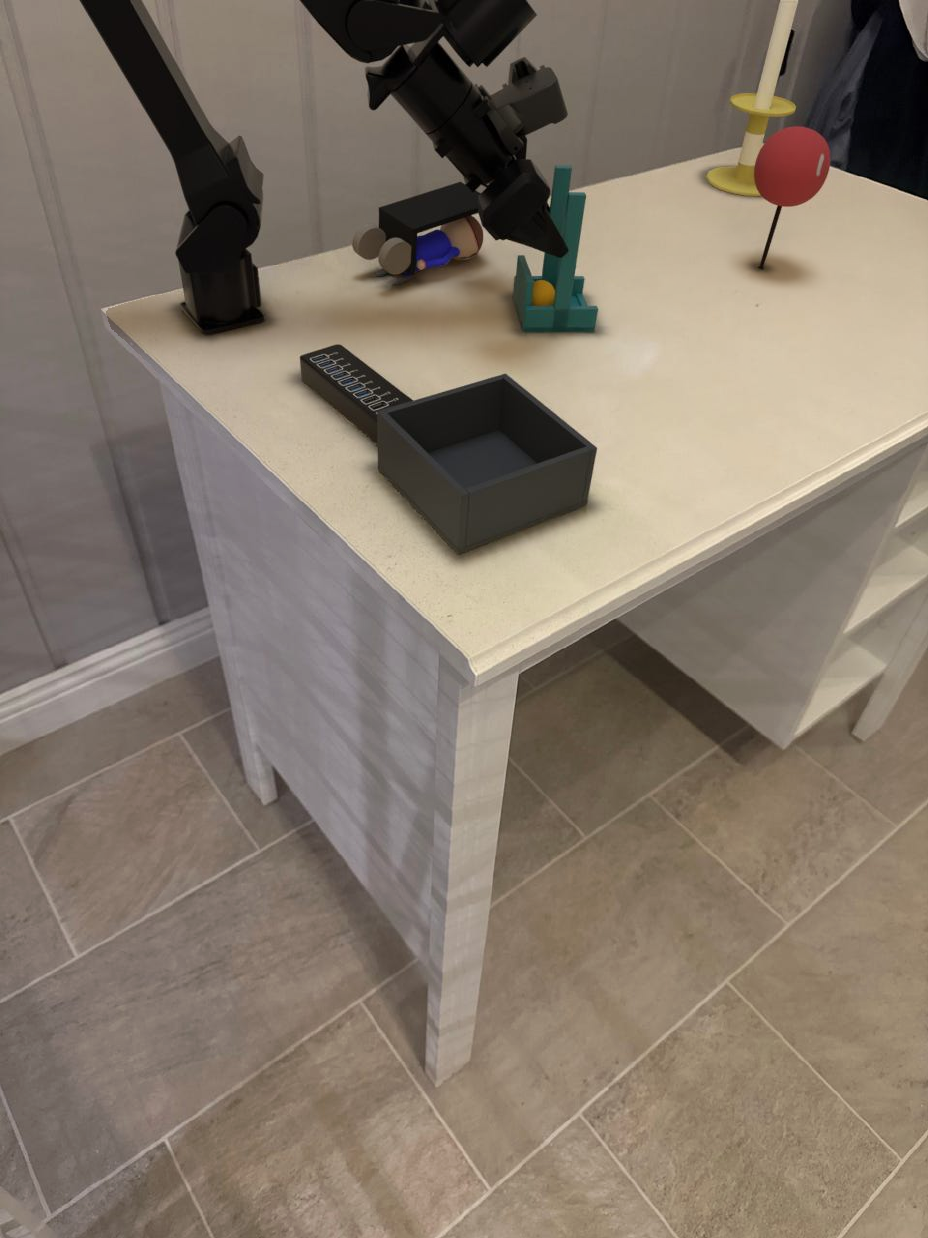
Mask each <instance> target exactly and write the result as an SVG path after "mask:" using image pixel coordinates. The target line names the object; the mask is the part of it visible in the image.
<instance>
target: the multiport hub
mask: <svg viewBox="0 0 928 1238" xmlns="http://www.w3.org/2000/svg"><path fill="white" fill-rule="evenodd" d="M299 367H300V378H301V379H300V380H301V381H302V382H303V383H304V384H305V385H306V386H308V387H309V388H310V389H311V390H313V391H314V392H315V393H316V395H317V394H318V396H319V397H321V398H322V399H323V400H324V401H325V402H326V403H328V404H329V405H330V406H332V407H333V408H334V409H335V410H336V411H337V412H338V413H340V414H341V415H342V416H343V417H345V418H346V419H347V420H348V421H349V422H350V423H352V425H354V426H355V427H357V428H358V430H360V431H361V432H362V433H363V434H365V435H366V436H367V437H368V438H369V439H370V440H372V441H373V442H374V443H375V444H376V445H378V438H377V411H380V410H384V409H387V408H390V407H393V406H397V405H400V404H403V403H407V402H410V401H414V400H413V398H411V397H409V396H408V395H407V394H406V393H404V392H403V391H402V390H401V389H399V388H398V387H397V386H396V385H394V384H393V383H392V382H390V381H389V380H387V379H386V378H385V377H384V376H382V375H381V374H380V373H379V372H377V371H376V370H374V369H373V368H372V367H371V366H369V365H368V364H367V363H365V362H364V361H363V360H361V359H360V358H359V357H358V356H356V355H355V354H354V353H353V352H351V351H350V350H349V349H348V348H346V347H345V346H343V344H338V343H336V344H333V345H330V346H325V347H324V348H323V347H322V348H320V349H317V350H314V351H310V352H308V353H304V354H302V355H300V356H299Z"/></svg>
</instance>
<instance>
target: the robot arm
mask: <svg viewBox="0 0 928 1238" xmlns="http://www.w3.org/2000/svg"><path fill="white" fill-rule="evenodd" d="M299 2H300V3H301V4H302V5H303V6H304V8H305V9H306V11H308V13H309V14H310V16H312V18H313V19H314V20H315V21H316V23H317V24H318V25H319V26H320V27H321V28H322V29H323V30H324V31H325V33H326V34H327V35H328V36H329V37H330V38H331V39H332V40H333V41H334V42H335V43H336V44H337V45H338V46H339V47H340V49H342V50H343V52H344V53H346V54H347V55H348V56H349V57H350V58H351V59H353V60H355V61H357V62H359V63H364V64H371V63H375V62H376V63H377V62H380V61H384V60H385V59H386V58H387V59H386V60H385V62H384V63H383V64H382V65H379V66H366V67H365V68H364V74H365V75H364V76H365V79H366V83H367V95H366V96H367V102H368V108H369V110H371V111H376V110H378V108H379V107H380V106H381V105H382V104H383V103H384V102H385V101H386V100H387V98H388V97H389V96H391V97H392V98H393V100H394V101H395V102H396V103H397V104H398V105H399V106H400V108H402V109H403V110H404V112H405V113H406V114H407V115H408V116H409V117H410V118H411V119H412V121H413V122H414V123H415V124H416V125H417V126H418V127H419V129H421V130H422V132H423V133H424V134H425V136H427V137H428V139H429V140H430V141H431V142H432V146H433V150H434V152H435V153H436V154H437V155H438V156H439V157H440V158H441V159H444V158H447V160H448V161H449V162H450V163H451V164H452V165H453V166H454V167H455V169H456V170H457V171H458V172H459V174H461V175H462V177H463V180H464V184H466V186H467V187H468V188H469V189H470V190H471V191H472V192H474V191H475V190H476V191H477V189H479V188H480V187H481V186H482V187H485V188H484V189H483V191H482V192H480V193H481V194H480V195H479V196H478V213H477V214H478V218H479V220H480V224H481V227H482V228H483V229H484V230H485V231H486V232H487V233H488V235H490V236H491V237H492V238H493V240H494V241H499V240H501V241H506V240H507V241H509V242H514V243H516V244H520V245H523V246H526V247H529V248H532V249H534V250H537V251H539V252H543V253H547V254H550V255H553V256H555V257H558V258H562V257H563V256H565V255H566V254H567V253H568V252H569V249H568V247H567V245H566V243H565V241H564V239H563V238H562V236H561V234H560V232H559V230H558V229H557V227H556V225H555V223H554V221H553V220H552V218H551V216H550V214H549V210H550V204H549V199H551V194H552V190H551V187H550V185H549V183H548V181H547V179H546V177H545V176H544V174H543V173H542V171H541V170H540V169H539V168H538V166H537V165H536V163H534V162H533V160H532V159H531V158H529V159H528V158H527V151H528V150H527V148H528V139H527V136H528V135H530V134H532V133H535V132H536V131H538V130H541V129H543V128H545V127H547V126H550V125H551V124H553V125H557V124H558V123H560V122H562V121H564V120H565V119H566V118H567V117H568V115H569V112H568V109H567V106H566V102H565V100H564V99H565V98H564V96H563V91H562V90H561V85H560V83H559V80H558V77H557V75H556V73H555V72H554V70H553V69H552V67H549V66H547V67H546V66H545V65H544V64H542V65H539V69H538V68H537V67H536V66H534V65H533V64H532V62H531V61H530V60H529V59H527V58H526V56H523V57H520V58H519V59H517V60H515V61H512V62H510V64H509V71H508V81H507V83H506V82H505V83H503V84H502V85H501V86H502V88H501V89H499V90H498V91H496V92H494V93H492V94H490V92H488V90H487V89H486V88H485V86H484V85H482V84H480V85H478V84H477V83H475V84H474V83H473V82H472V81H471V79H470V78H469V77H468V76H467V75H466V73H465V72H464V71H463V70H462V69H461V67H460V66H459V65H458V63H457V62H456V61H455V60H454V58H452V56H451V55H450V54H449V53H448V51H447V50H446V49H445V47H443V46H442V44H441V43H440V41H441V39H442V38H444V39H445V40H446V41H447V43H448V44H449V45H450V47H451V48H452V49H453V51H454V52H455V53H456V54H457V56H458V57H459V58H460V60H461V61H462V62H463V63H464V64H465V65H466V66H467V67H468V68H471V67H472V66H473V65H474V66H475V67H476V68H480V67H481V66H482V64H483V66H485V67H486V68H488V67H489V66H490V65H491V64H492V63H493V62H494V61H495V60H496V59H498V57H499V56H500V55H501V54H502V53H503V52H504V50H506V48H507V47H508V46H510V44H511V43H512V42H513V41H514V40H515V39H516V38H517V37H518V36H519V35H520V34H521V33H522V32H523V31H524V29H526V27H528V25H530V23H531V22H532V21H533V20H534V19H535V18H536V17H537V16H538V14H537V12H536V11H535V10H534V8H533V6H532V5H531V4H530V3H529V1H528V0H299ZM79 3H80V4H81V5H82V7H83V9H84V10H85V12H86V14H87V15H88V17H89V19H90V21H91V22H92V24H93V25H94V28H95V29H96V31H97V32H98V35H99V36H100V37H101V40H102V41H103V43H104V45H105V46H106V47H107V49H108V51H109V52H110V54H111V56H112V58H113V60H114V61H115V62H116V64H117V66H118V68H119V69H120V72H121V73H122V75H123V76H124V79H126V81H127V83H128V84H129V86H130V89H132V91H133V93H134V95H135V97H136V98H137V100H138V101H139V103H140V104H141V107H142V108H143V110H144V112H145V113H146V115H147V116H148V118H149V120H150V121H151V124H152V125H153V126H154V128H155V130H156V131H157V133H158V135H159V136H160V138H161V140H162V142H163V143H164V145H165V146H166V148H167V150H168V151H169V153H170V156H171V158H172V161H173V163H174V166H175V170H176V171H175V172H176V174H177V177H178V180H179V184H180V187H181V191H182V196H183V198H184V200H185V203H186V205H187V208H188V210H187V211H186V212H185V213H184V216H183V219H182V223H181V227H180V232H179V236H178V240H177V243H176V248H175V252H174V254H175V256H176V258H177V261H178V267H179V273H180V279H181V284H182V290H183V297H184V301H182V302H180V304H179V306H180V310H181V311H182V312H183V313H184V315H186V316H187V318H189V320H190V321H191V322H192V323H193V324H194V325H195V326H196V328H197V329H198V330H199V331H200V333H201V334H203V335H211V334H215V333H218V332H223V331H228V330H232V329H236V328H240V327H244V326H249V325H253V324H258V323H262V322H264V321H266V316H265V313H263V312H262V310H261V309H260V308H261V307H262V305H263V303H262V302H263V301H262V294H261V283H260V275H259V267H258V266H256V264H254V262H253V256H252V252H250V250H248V249H247V248H250V247H251V246H252V245H253V244H254V243H255V241H256V240H257V239H258V238H259V234H260V230H261V226H262V218H263V217H262V216H263V215H262V214H263V207H264V191H263V184H264V176H265V175H264V173H263V172H262V171H261V170H259V169H258V168H257V166H256V165H255V164H254V162H253V161H252V159H251V157H250V154H249V151H248V149H247V146H246V143H245V141H244V138H243V137H242V135H238V136H236V137H235V138H234V139H232V140H230V142H229V141H227V140H226V139H225V138H224V137H223V136H222V135H221V134H220V133H219V132H218V131H217V130H216V129H215V128H214V127H213V126H212V124H211V123H210V120H209V119H208V118H207V116H206V113H205V112H204V110H203V108H202V107H201V105H200V103H199V101H198V99H197V97H196V96H195V94H194V92H193V90H192V89H191V86H190V85H189V83H188V81H187V79H186V78H185V76H184V74H183V72H182V70H181V69H180V67H179V65H178V63H177V61H176V60H175V58H174V56H173V54H172V53H171V50H170V49H169V46H168V45H167V43H166V41H165V40H164V37H163V36H162V34H161V33H160V31H159V29H158V27H157V25H156V24H155V22H154V20H153V18H152V16H151V14H150V12H149V10H148V8H147V7H146V5H145V3H144V2H143V0H79ZM410 44H412V45H410ZM409 45H410V46H409Z"/></svg>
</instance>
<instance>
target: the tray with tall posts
mask: <svg viewBox="0 0 928 1238" xmlns="http://www.w3.org/2000/svg"><path fill="white" fill-rule="evenodd" d="M572 173H573V168H572V165H559V164H557V165H555V164H554V170H553V178H552V186H551V193H550V204H549V207H550V210H549V214H550V216H551V218H552V220H553V221H554V223H555V225H556V227H557V229H558V230H559V232H560V234H561V236H562V238H563V239H564V241H565V243H566V245H567V247H568V249H569V252H568V253H567V254H566V255H565V256H563V257H562V258H558V257H555V256H553V255H550V254H547V253H545V252H543V253H544V254H543V262H542V269H541V275H532V273H531V270H530V267H529V265H528V262H527V259H526V255H525V254H518V255H517V257H516V259H517V260H516V261H517V262H516V268H515V269H516V270H515V275H514V276H513V277H514V278H513V288H512V297H511V298H512V301H513V305H514V307H515V310H516V314H517V317H518V320H519V323H520V326H521V331H522V333H594V332H595V331H596V325H597V319H598V314H599V308H598V305H588V303H587V301H586V298H585V296H584V294H583V292H584V287H585V286H584V285H585V276H582V275H576V269H577V262H578V254H579V248H580V241H581V233H582V227H583V221H584V215H585V214H584V212H585V208H586V200H587V194H586V193H585V192H584V191H583V192H582V191H581V192H580V191H579V192H578V191H577V192H576V191H570V187H571V181H572V180H571V179H572ZM537 280H545V281H547V282H549V283H550V284H551V285H552V286H553V288H554V290H555V296H554V303H553V304H552V306H531V303H532V294H533V285H534V282H535V281H537Z"/></svg>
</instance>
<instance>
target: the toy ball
mask: <svg viewBox="0 0 928 1238" xmlns="http://www.w3.org/2000/svg"><path fill="white" fill-rule="evenodd" d="M554 296H555V290H554V288H553V286H552V285H551V284H550V283H549V282H547V281H545V280H537V281H535V282H534V285H533V294H532V303H531V306H552V304H553V303H554Z"/></svg>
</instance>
